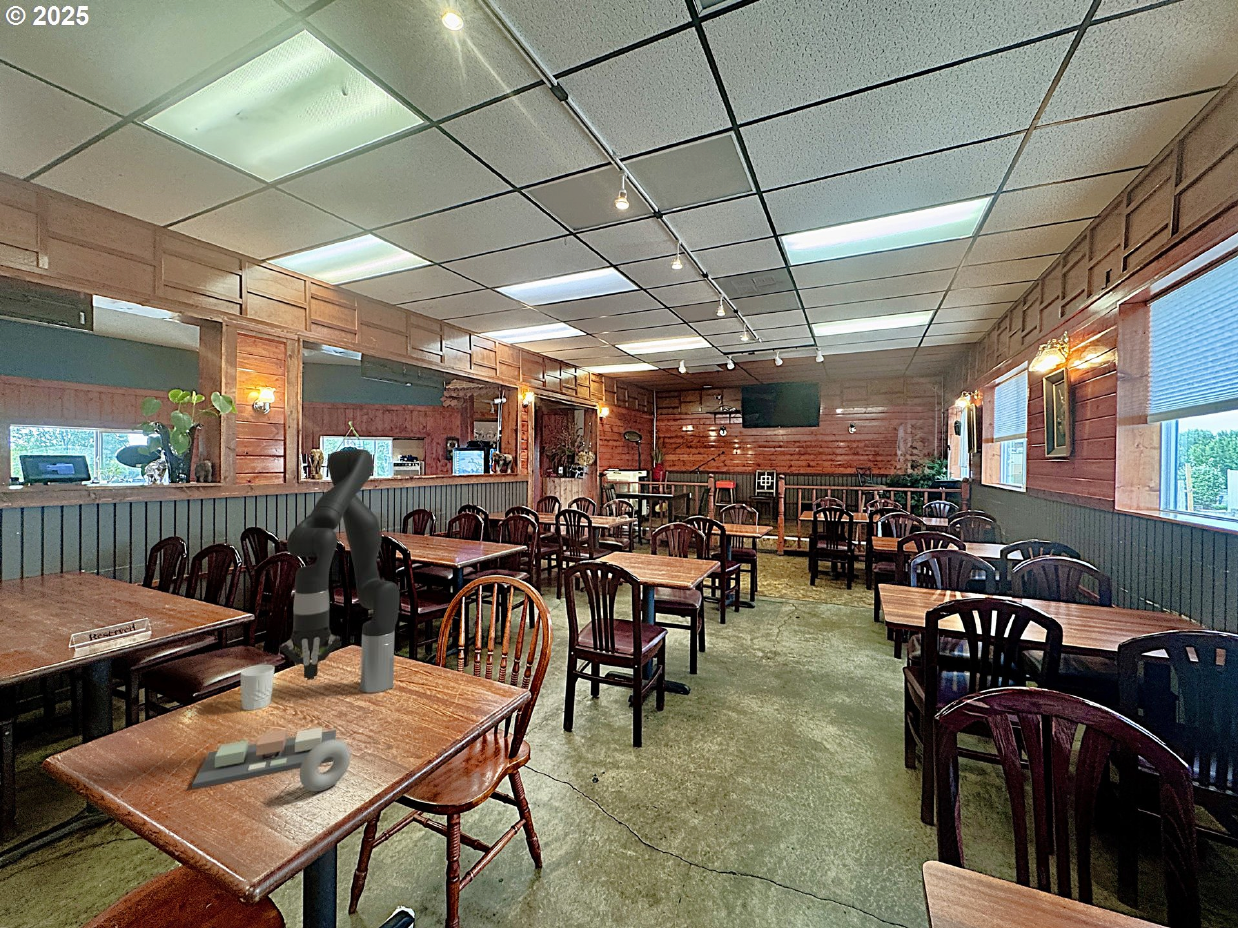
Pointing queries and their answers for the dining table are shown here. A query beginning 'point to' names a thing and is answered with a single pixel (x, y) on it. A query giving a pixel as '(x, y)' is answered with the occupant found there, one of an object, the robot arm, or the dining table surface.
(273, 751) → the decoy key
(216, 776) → the keypad plate
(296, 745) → the cream key
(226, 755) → the sage key
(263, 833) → the dining table surface
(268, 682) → the white cup
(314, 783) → the donut
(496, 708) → the dining table surface
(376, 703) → the dining table surface
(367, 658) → the robot arm
